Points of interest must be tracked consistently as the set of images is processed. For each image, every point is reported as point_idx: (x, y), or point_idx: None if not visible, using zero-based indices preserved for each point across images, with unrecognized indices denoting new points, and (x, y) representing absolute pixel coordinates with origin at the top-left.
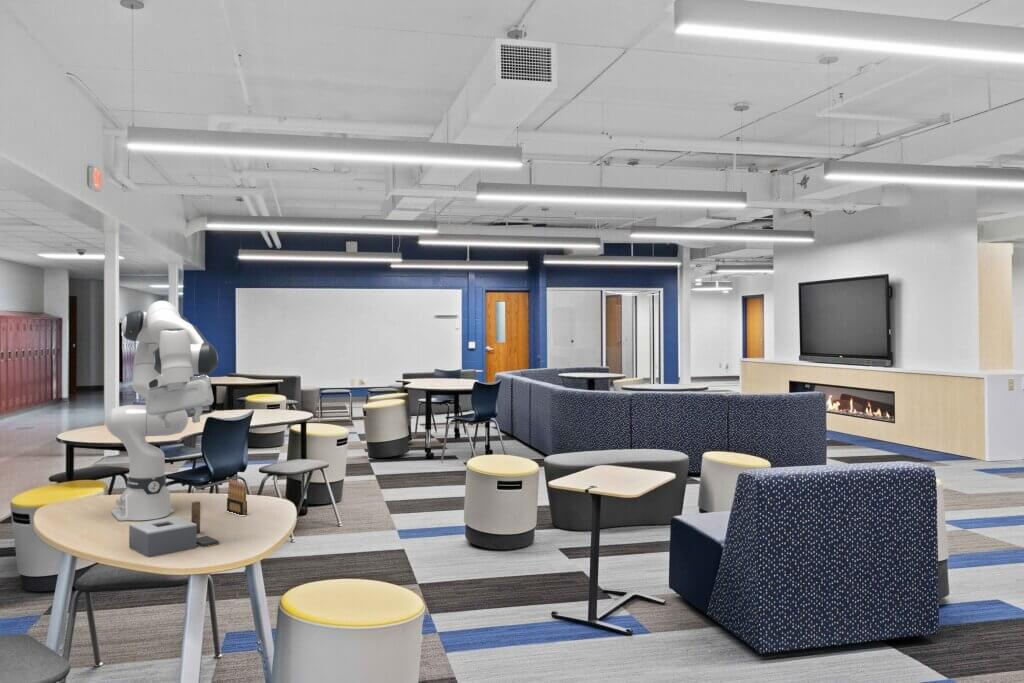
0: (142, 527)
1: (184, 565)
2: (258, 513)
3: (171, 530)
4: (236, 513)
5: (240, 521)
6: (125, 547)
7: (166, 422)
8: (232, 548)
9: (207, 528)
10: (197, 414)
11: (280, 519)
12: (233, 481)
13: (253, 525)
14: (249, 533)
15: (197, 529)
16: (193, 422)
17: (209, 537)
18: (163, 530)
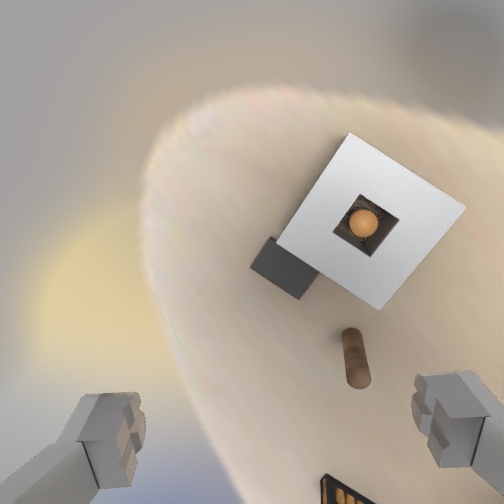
0: (401, 180)
1: (228, 102)
2: (306, 498)
3: (313, 186)
4: (348, 489)
5: (308, 436)
6: None
7: (454, 409)
8: (205, 240)
9: None
10: (35, 461)
11: (234, 455)
12: None
13: (262, 408)
14: (236, 350)
15: (344, 336)
16: (133, 394)
17: (285, 288)
18: (325, 168)
